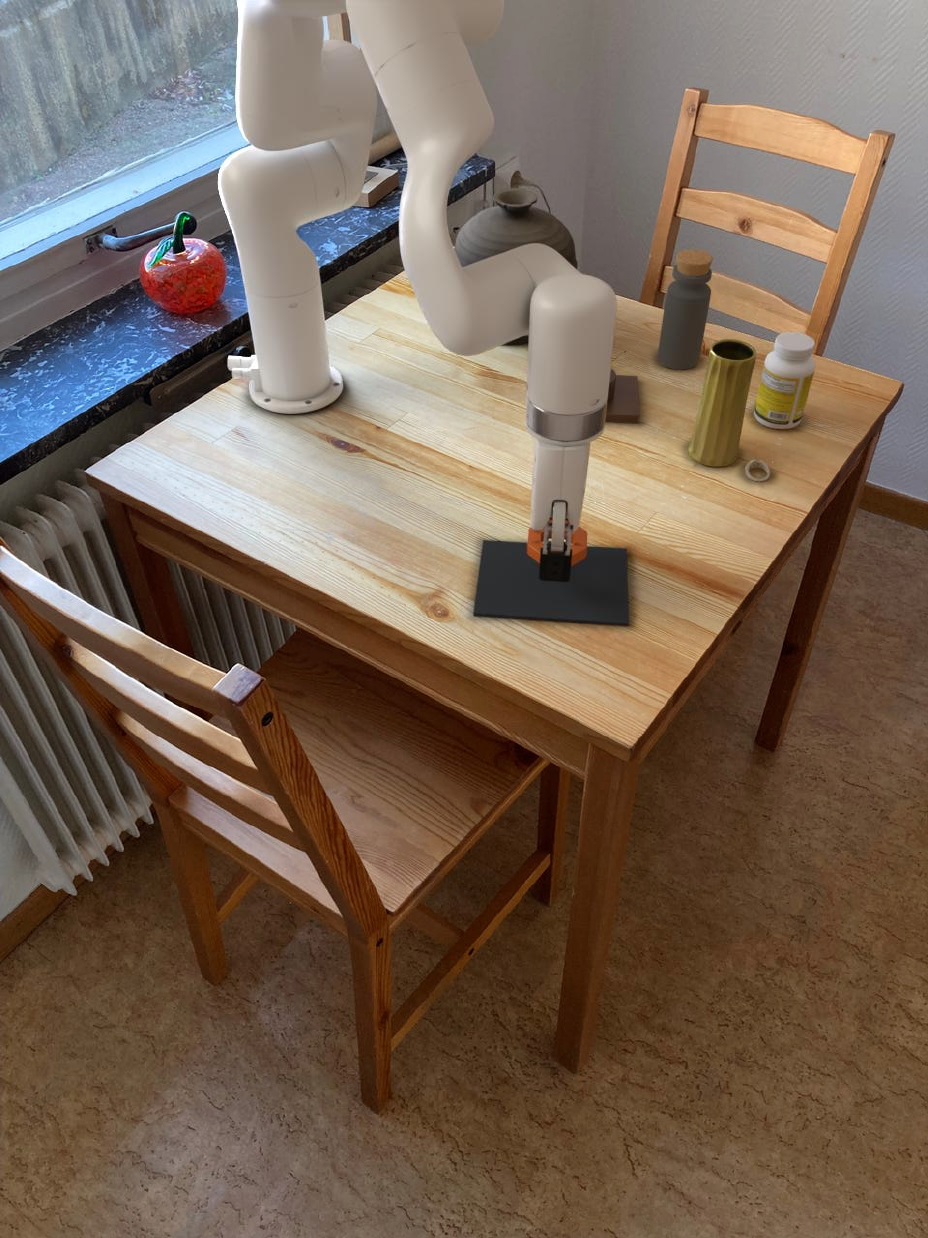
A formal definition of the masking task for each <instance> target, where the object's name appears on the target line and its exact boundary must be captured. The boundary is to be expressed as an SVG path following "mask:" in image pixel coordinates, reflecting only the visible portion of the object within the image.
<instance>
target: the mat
mask: <svg viewBox="0 0 928 1238" xmlns="http://www.w3.org/2000/svg"><path fill="white" fill-rule="evenodd" d="M479 560H480V561H479V568H478V575H477V582H476V583H477V584H476V590H475V599H474V606H473V613H472V616H473V617H483V618H484V617H486V618H499V619H500V618H501V619H518V620H529V621H530V620H532V621H544V622H545V621H546V622H562V623H577V624H591V625H593V624H595V625H609V626H621V627H622V626H623V627H629V626H630V615H629V613H630V612H629V577H628V576H629V575H628V573H629V572H628V549H627V548H624V547H606V546H590V545H587V554H586V557H585V558H584V559H583V560H581V561H579V562H578V563H576V564H574V565H572V566H571V573H570V581H568V582H556V581H542V580H540V579H539V567H540V563H538V562H537V561H536V560H534V559H533V558H532V557H530V556H529V555H528V554H527V541H526V542H523V541H509V540H508V541H506V540H505V541H504V540H492V539H491V540H489V539H483V540H482V546H481V554H480V559H479Z"/></svg>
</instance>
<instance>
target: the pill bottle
mask: <svg viewBox="0 0 928 1238" xmlns="http://www.w3.org/2000/svg"><path fill="white" fill-rule="evenodd" d="M815 345H816V342H815V340H814V338H812V337H811V336H810V335H808V334H805V333H802V332H797V331H787V332H783V333H780V334H778V335H777V336H776V337H775V341H774V345H773V350H771V351H770V352H769V353H768V354H767V355H766V356H765V359H764V363H763V367H762V371H761V376H760V381H759V385H758V390H757V395H756V400H755V404H754V410H753V416H754V419H755V420H756V421H757V422H758V423H760V424H761V425H762V426H764V427H767V428H770V429H774V430H789V429H792V428H795V427H797V426H798V425H800V423H801V422H802V420H803V417H804V413H805V409H806V405H807V403H808V402H807V401H808V397H809V394H810V389H811V385H812V381H813V379H814V378H813V377H814V374H815V370H816V361H815V359H814V358H813V354H814V351H815Z"/></svg>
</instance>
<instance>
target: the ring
mask: <svg viewBox="0 0 928 1238" xmlns="http://www.w3.org/2000/svg"><path fill="white" fill-rule="evenodd" d="M753 468H755V469H762V470H764V471H765V472H766V476H765V477H763V478H757V477H754V476H753V475H752V474H751V473H750V470H753ZM743 471H744V474H745V475H746V477H747V478H748V479H749V480H751V481H753V482H758V483H759V482H760V483H761V482H766V481H768V480H769V478H770V476H771V470H770V468H769V466H768V465H767V463H765V461H763V460H760V459H759V460H756V458H754V459H750V460H749V461H748V462H747V463H746V464H745V466H744V469H743Z"/></svg>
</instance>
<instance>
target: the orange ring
mask: <svg viewBox="0 0 928 1238" xmlns="http://www.w3.org/2000/svg"><path fill="white" fill-rule="evenodd" d="M548 522H549V523H552V522H553V520H550V519H549V520H548ZM565 523H567V524H568V520H565ZM549 538H552V531H549ZM564 539H566V532H564ZM543 541H544V529H543V530H542V531H540V530H536V531H534V530H533V529H532V528H531V527H529V529H527V540H526V543H527V554H528V555H529V556H530V557H532V558H533V559H534V560H536V561H537V562H538V563H540V550H541V548H543ZM587 546H588V532H587V530H585V529H584V528H582V527H581V526H579V529H578V530H577V531H575V532H573V530H572V533H571V547H570V549H572V562H571V566H572V565H574V564H576V563H578V562H579V561H581V560H583V559H584V558H585V557H586V554H587Z"/></svg>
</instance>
